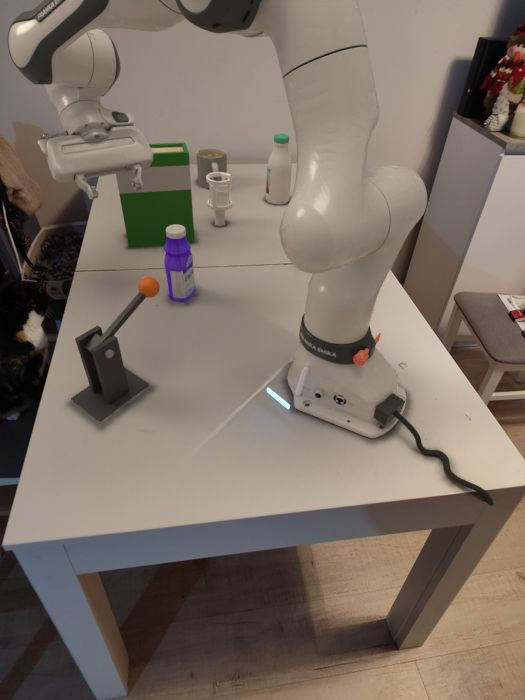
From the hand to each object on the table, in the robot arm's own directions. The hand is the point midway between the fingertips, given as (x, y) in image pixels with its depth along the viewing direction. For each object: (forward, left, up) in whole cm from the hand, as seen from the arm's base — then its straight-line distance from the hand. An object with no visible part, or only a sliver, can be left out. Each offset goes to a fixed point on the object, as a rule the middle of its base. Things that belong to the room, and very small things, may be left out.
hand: (117, 192), depth 88 cm
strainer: (+8, -40, -24) cm, 47 cm away
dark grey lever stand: (-22, +24, -24) cm, 40 cm away
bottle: (-10, -6, -24) cm, 27 cm away
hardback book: (+14, -22, -24) cm, 36 cm away
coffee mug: (+29, -60, -24) cm, 71 cm away
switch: (-22, +17, -11) cm, 30 cm away
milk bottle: (+5, -65, -24) cm, 69 cm away
